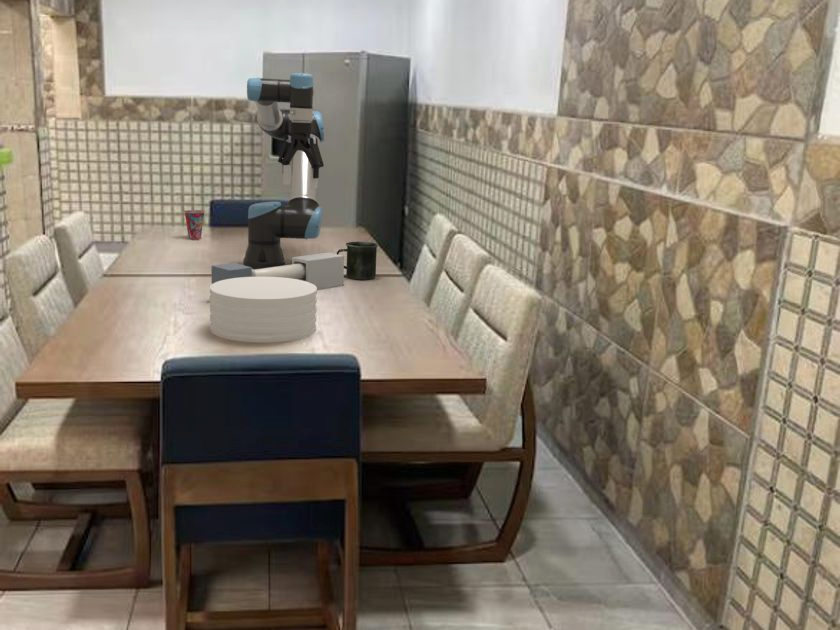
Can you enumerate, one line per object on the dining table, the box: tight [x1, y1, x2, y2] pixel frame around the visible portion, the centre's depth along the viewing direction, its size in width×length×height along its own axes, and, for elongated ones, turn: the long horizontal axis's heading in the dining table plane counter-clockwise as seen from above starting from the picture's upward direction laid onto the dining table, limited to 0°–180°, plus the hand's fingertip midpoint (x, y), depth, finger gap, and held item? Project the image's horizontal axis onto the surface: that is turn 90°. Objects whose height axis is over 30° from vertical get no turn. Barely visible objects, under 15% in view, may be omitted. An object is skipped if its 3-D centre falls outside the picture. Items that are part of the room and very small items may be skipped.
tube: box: [252, 263, 306, 279], centre depth 264 cm, size 32×7×7 cm, turn 139°
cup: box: [183, 209, 206, 241], centre depth 359 cm, size 9×8×12 cm
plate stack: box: [209, 277, 318, 343], centre depth 225 cm, size 28×28×12 cm
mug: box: [336, 241, 379, 281], centre depth 296 cm, size 11×15×12 cm
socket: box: [211, 262, 253, 285], centre depth 253 cm, size 8×9×10 cm
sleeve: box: [291, 252, 345, 291], centre depth 279 cm, size 16×8×10 cm, turn 139°
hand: (300, 186), depth 283 cm, fingers open, 13 cm apart
